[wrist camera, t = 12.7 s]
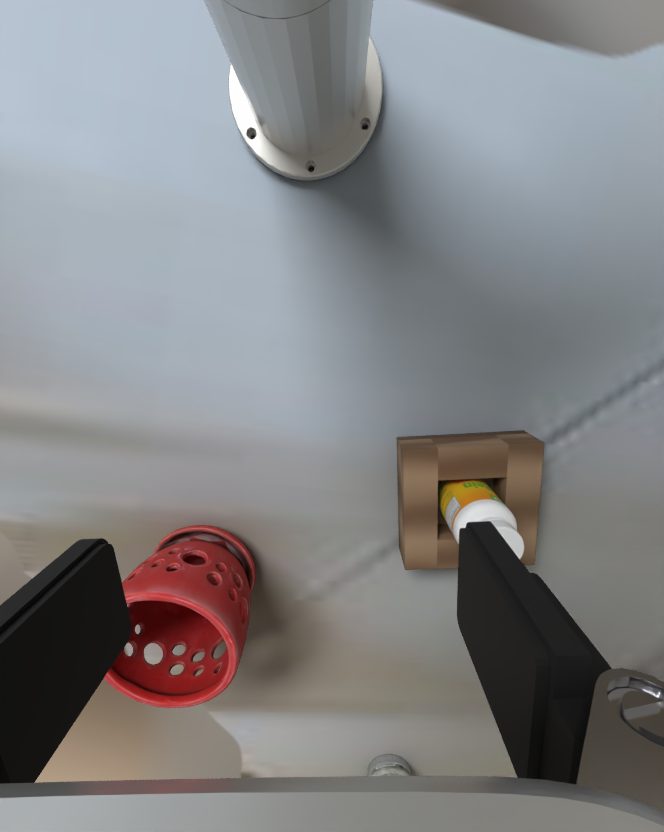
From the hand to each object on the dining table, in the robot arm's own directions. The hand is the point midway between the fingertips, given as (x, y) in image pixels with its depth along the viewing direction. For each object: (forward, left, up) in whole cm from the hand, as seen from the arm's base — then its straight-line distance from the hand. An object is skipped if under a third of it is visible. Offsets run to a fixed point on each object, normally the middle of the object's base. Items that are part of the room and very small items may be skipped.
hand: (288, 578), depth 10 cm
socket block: (+12, +14, -28) cm, 34 cm away
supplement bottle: (+12, +13, -28) cm, 33 cm away
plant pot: (+20, -15, -29) cm, 38 cm away
